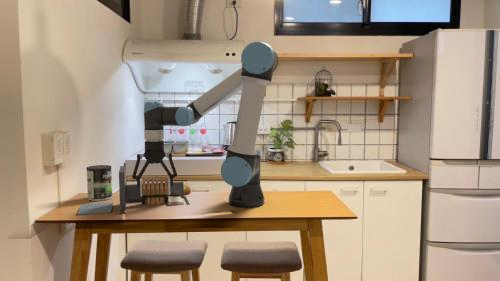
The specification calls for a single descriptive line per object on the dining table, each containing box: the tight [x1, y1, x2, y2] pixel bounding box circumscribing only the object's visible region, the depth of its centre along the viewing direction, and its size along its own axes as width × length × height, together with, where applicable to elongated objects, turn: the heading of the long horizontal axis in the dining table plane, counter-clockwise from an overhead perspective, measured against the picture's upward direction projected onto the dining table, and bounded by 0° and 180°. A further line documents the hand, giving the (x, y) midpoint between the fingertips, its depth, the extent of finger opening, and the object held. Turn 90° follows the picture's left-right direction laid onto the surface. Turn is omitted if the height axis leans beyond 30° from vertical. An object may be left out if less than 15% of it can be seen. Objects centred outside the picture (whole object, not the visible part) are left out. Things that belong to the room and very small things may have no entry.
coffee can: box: [86, 164, 113, 202], centre depth 171 cm, size 10×10×14 cm
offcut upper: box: [168, 196, 185, 206], centre depth 160 cm, size 6×10×1 cm, turn 20°
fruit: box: [183, 182, 192, 196], centre depth 175 cm, size 11×10×8 cm
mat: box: [76, 202, 114, 216], centre depth 154 cm, size 12×14×1 cm
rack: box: [118, 165, 190, 215], centre depth 157 cm, size 26×16×16 cm, turn 106°
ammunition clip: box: [141, 176, 169, 205], centre depth 157 cm, size 11×2×12 cm, turn 98°
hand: (155, 194), depth 157 cm, fingers closed on ammunition clip, 10 cm apart
